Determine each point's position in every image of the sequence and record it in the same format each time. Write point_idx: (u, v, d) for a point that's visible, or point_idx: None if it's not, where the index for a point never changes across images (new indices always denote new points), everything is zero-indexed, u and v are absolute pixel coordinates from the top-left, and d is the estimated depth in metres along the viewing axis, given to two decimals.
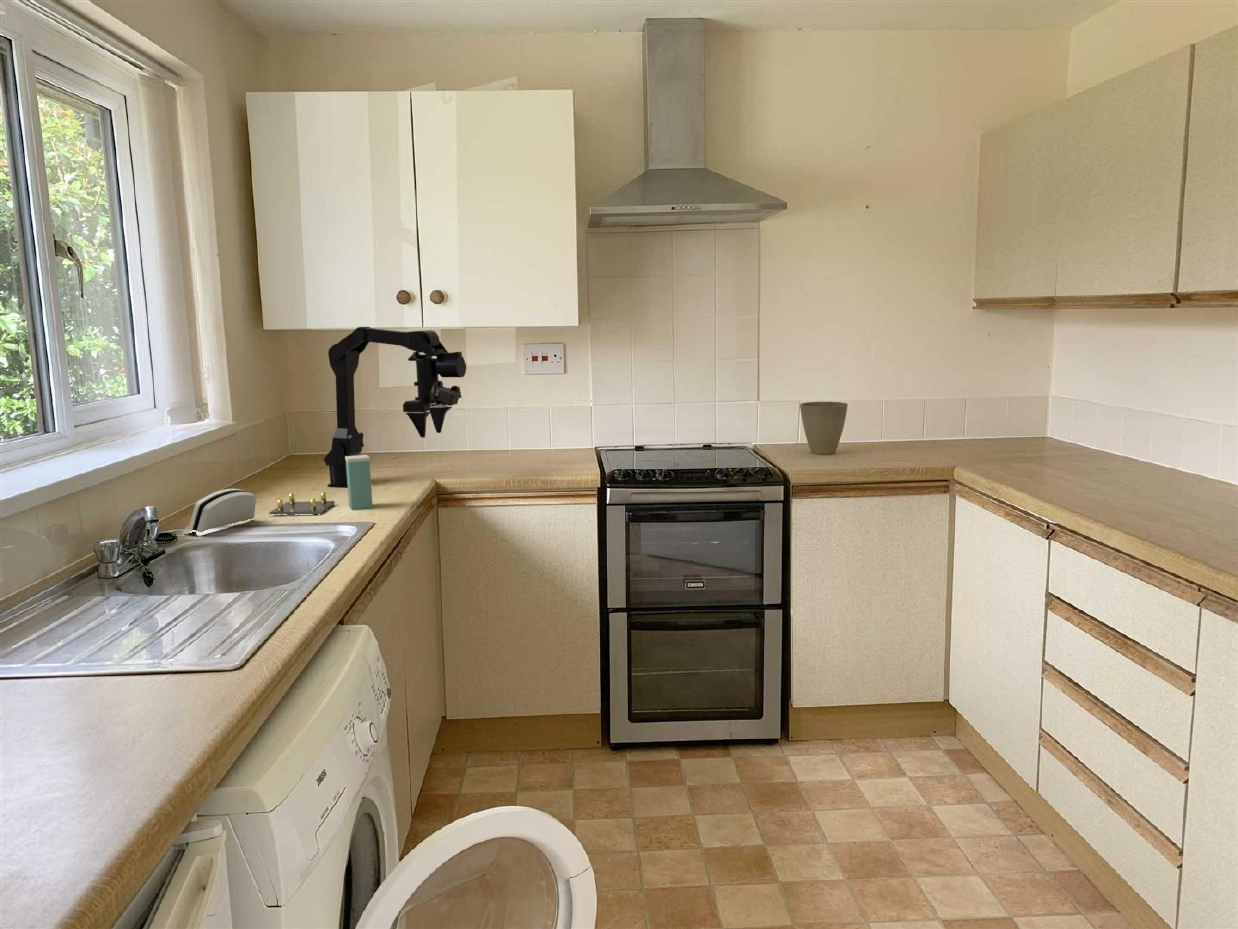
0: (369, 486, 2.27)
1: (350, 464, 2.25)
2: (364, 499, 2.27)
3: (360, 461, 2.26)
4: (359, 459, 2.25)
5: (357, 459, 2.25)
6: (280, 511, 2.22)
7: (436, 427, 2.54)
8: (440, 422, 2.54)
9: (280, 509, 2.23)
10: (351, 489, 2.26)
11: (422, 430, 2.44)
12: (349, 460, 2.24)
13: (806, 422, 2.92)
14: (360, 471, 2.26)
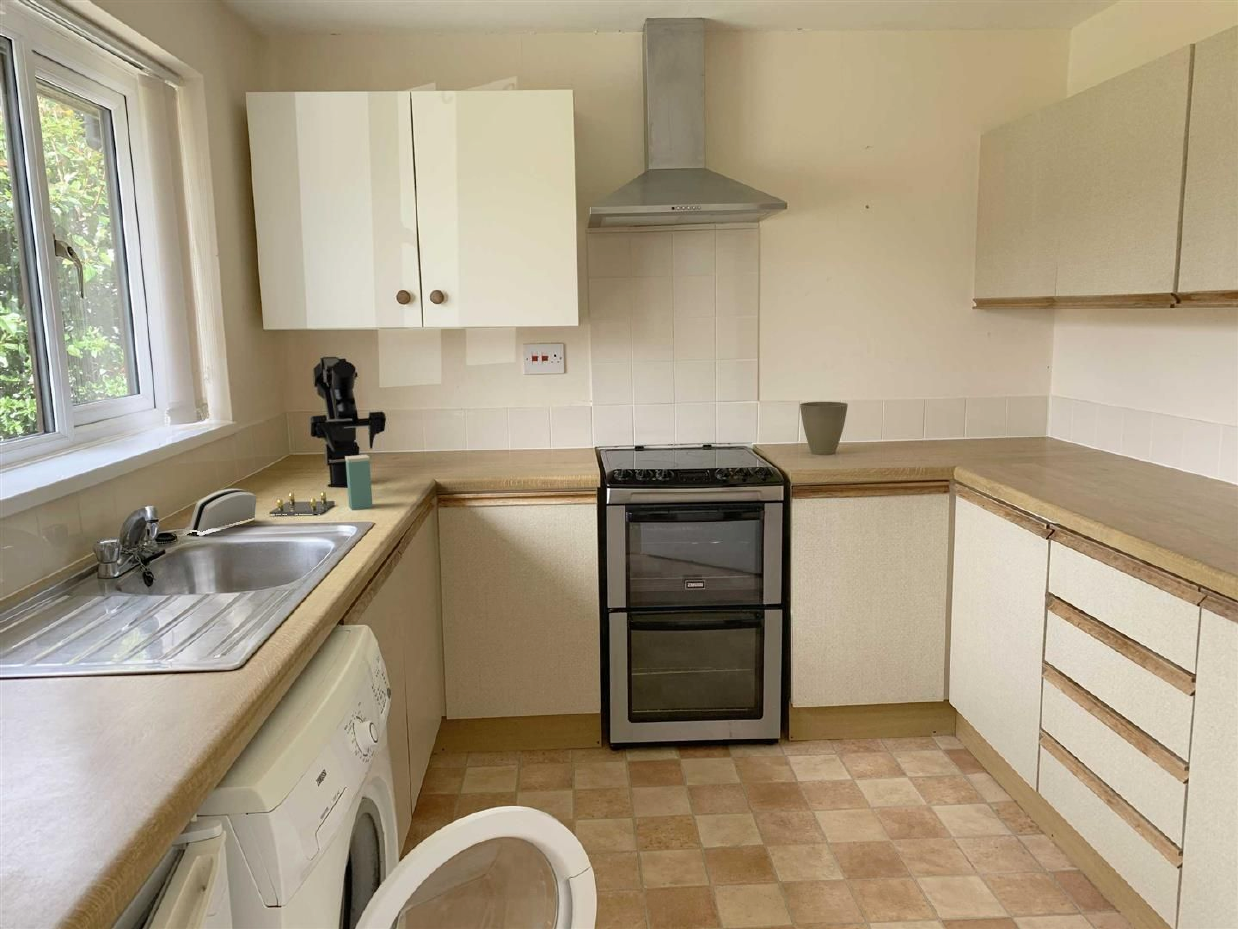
0: (369, 486, 2.27)
1: (350, 464, 2.25)
2: (364, 499, 2.27)
3: (360, 461, 2.26)
4: (359, 459, 2.25)
5: (357, 459, 2.25)
6: (280, 511, 2.22)
7: None
8: None
9: (280, 509, 2.23)
10: (351, 489, 2.26)
11: None
12: (349, 460, 2.24)
13: (806, 422, 2.92)
14: (361, 471, 2.26)
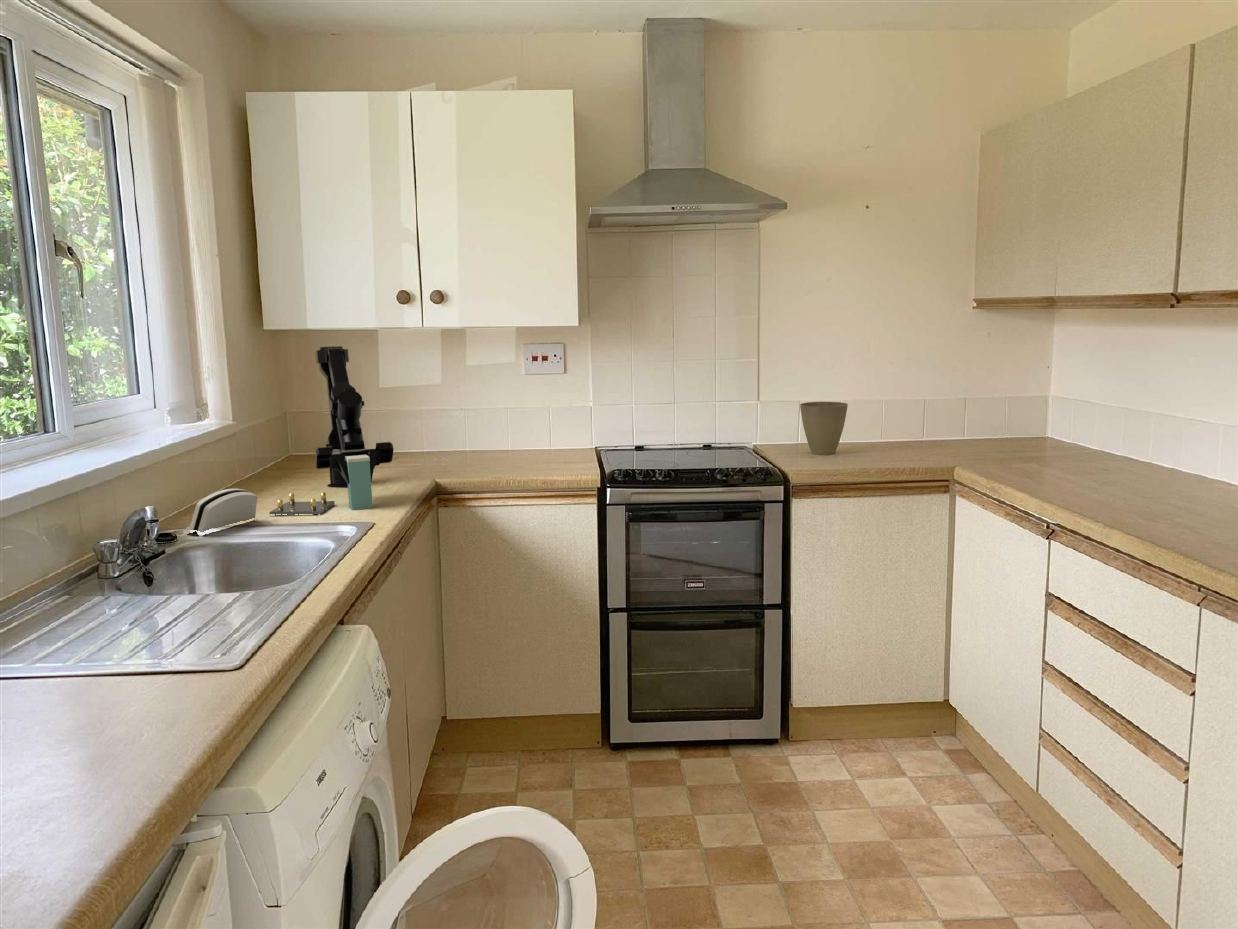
0: (369, 486, 2.27)
1: (350, 464, 2.25)
2: (364, 499, 2.27)
3: (360, 461, 2.26)
4: (359, 459, 2.25)
5: (357, 459, 2.25)
6: (280, 511, 2.22)
7: (348, 476, 2.27)
8: None
9: (280, 509, 2.23)
10: (351, 489, 2.26)
11: None
12: (349, 460, 2.24)
13: (806, 422, 2.92)
14: (360, 471, 2.26)
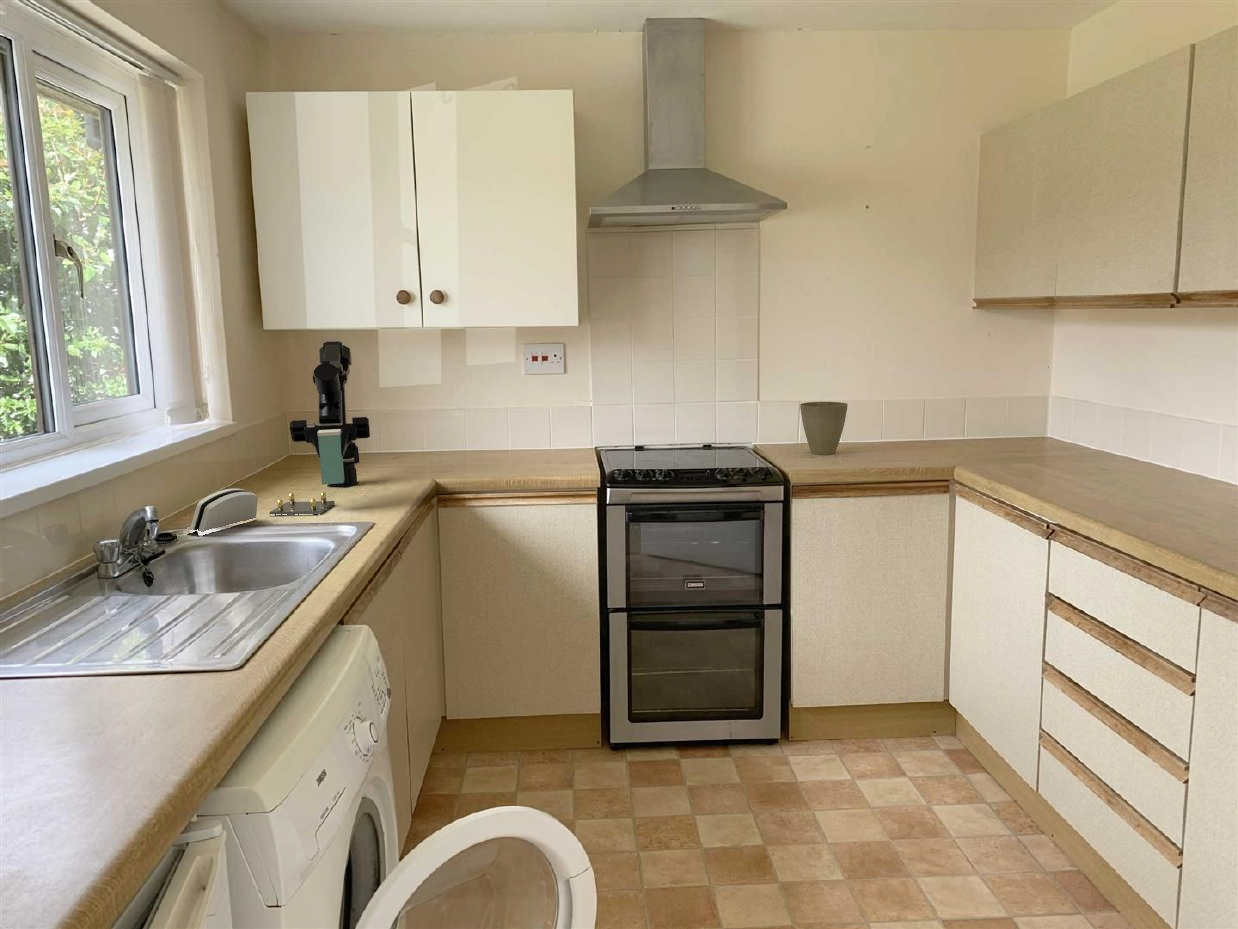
0: (339, 461, 2.24)
1: (320, 438, 2.22)
2: (334, 474, 2.24)
3: (330, 435, 2.23)
4: (329, 433, 2.22)
5: (327, 433, 2.22)
6: (280, 511, 2.22)
7: None
8: None
9: (280, 509, 2.23)
10: (321, 463, 2.23)
11: (345, 449, 2.27)
12: (318, 434, 2.22)
13: (806, 422, 2.92)
14: (330, 445, 2.23)
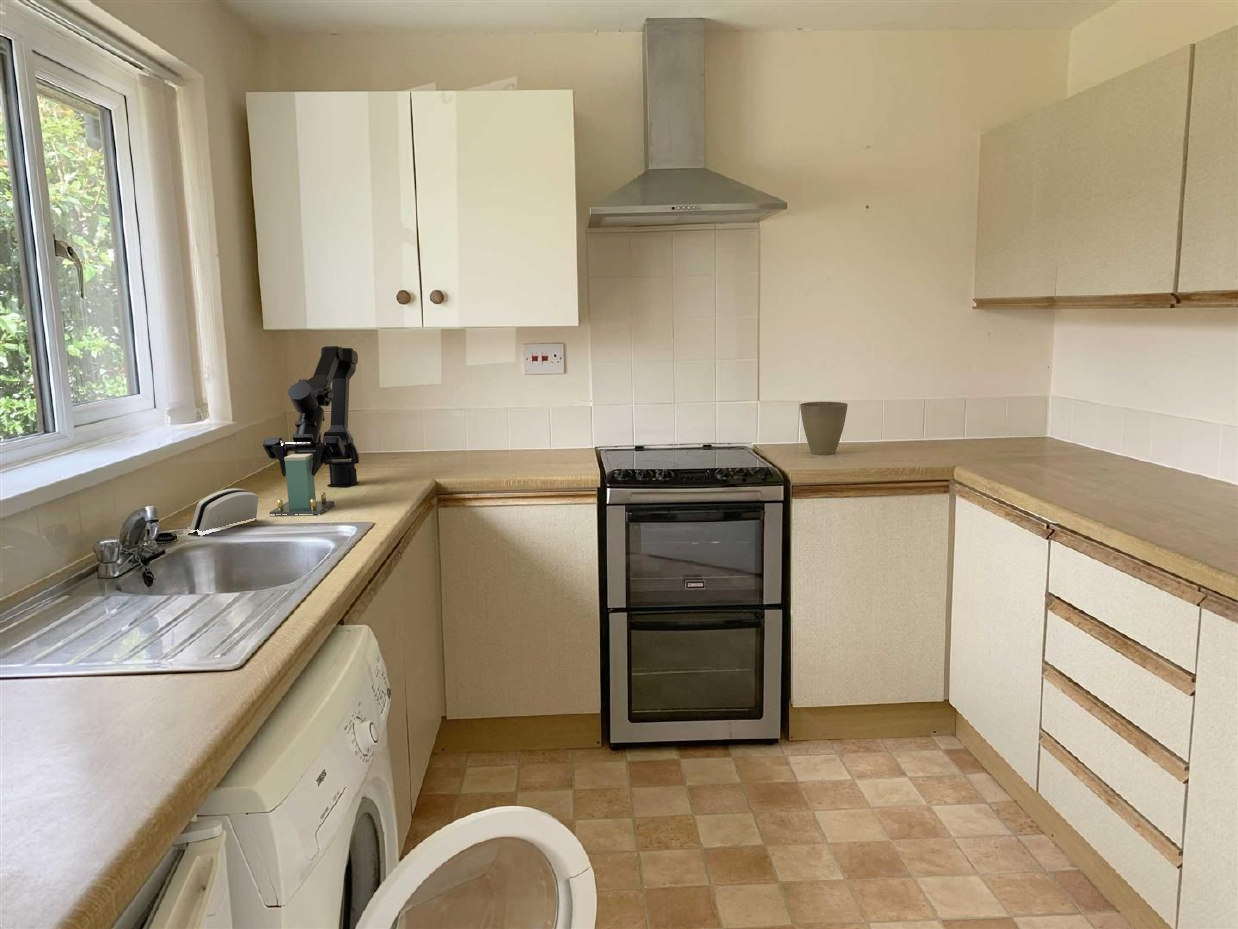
0: (305, 486, 2.24)
1: (286, 462, 2.23)
2: (301, 499, 2.24)
3: (296, 460, 2.23)
4: (295, 458, 2.23)
5: (293, 458, 2.23)
6: (280, 511, 2.22)
7: (284, 469, 2.25)
8: None
9: (280, 509, 2.23)
10: (288, 488, 2.24)
11: (317, 469, 2.26)
12: (285, 458, 2.23)
13: (806, 422, 2.92)
14: (297, 470, 2.23)
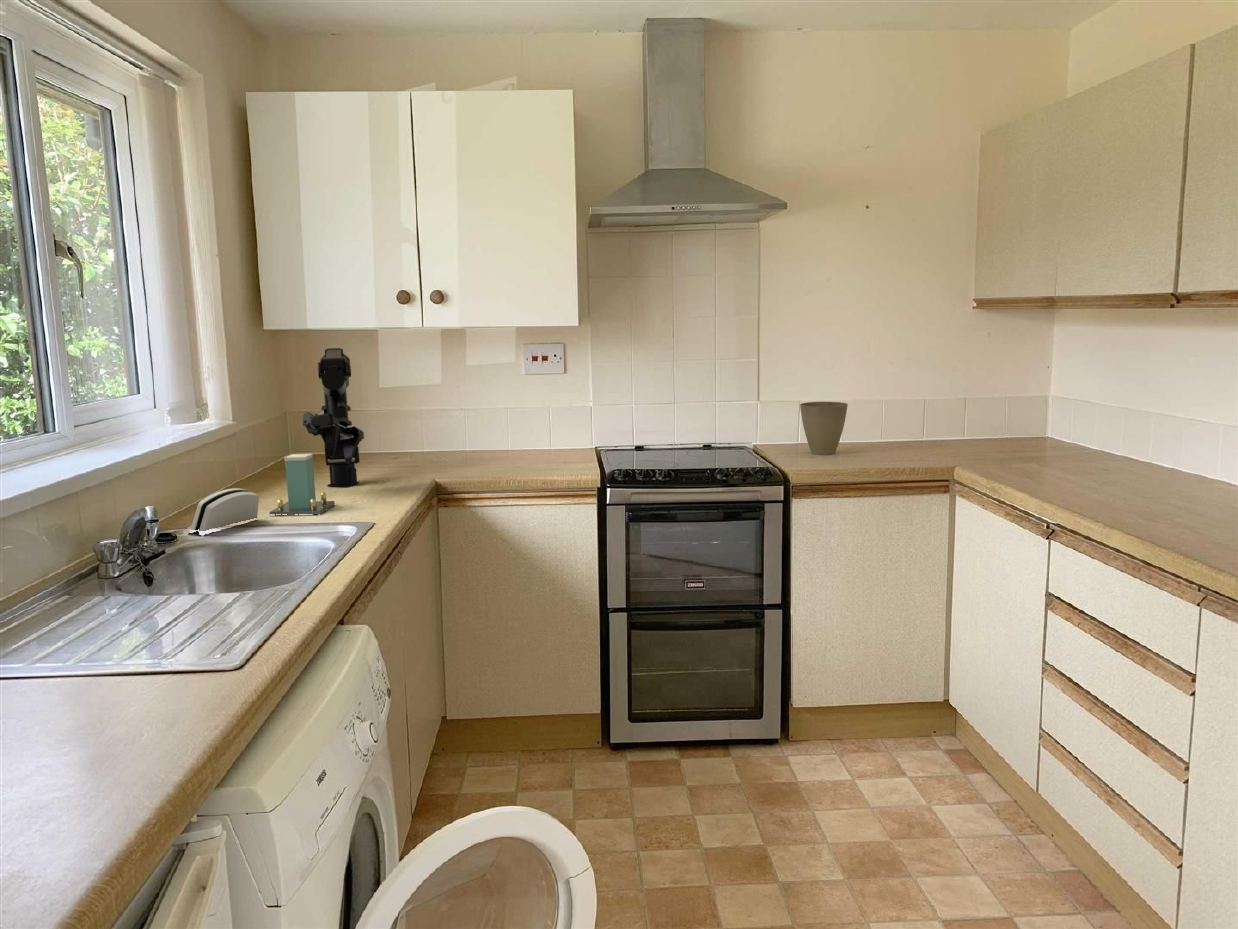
0: (305, 486, 2.24)
1: (286, 462, 2.23)
2: (301, 499, 2.24)
3: (296, 460, 2.23)
4: (295, 458, 2.23)
5: (293, 458, 2.23)
6: (280, 511, 2.22)
7: None
8: None
9: (280, 509, 2.23)
10: (288, 488, 2.24)
11: None
12: (285, 458, 2.23)
13: (806, 422, 2.92)
14: (297, 470, 2.23)
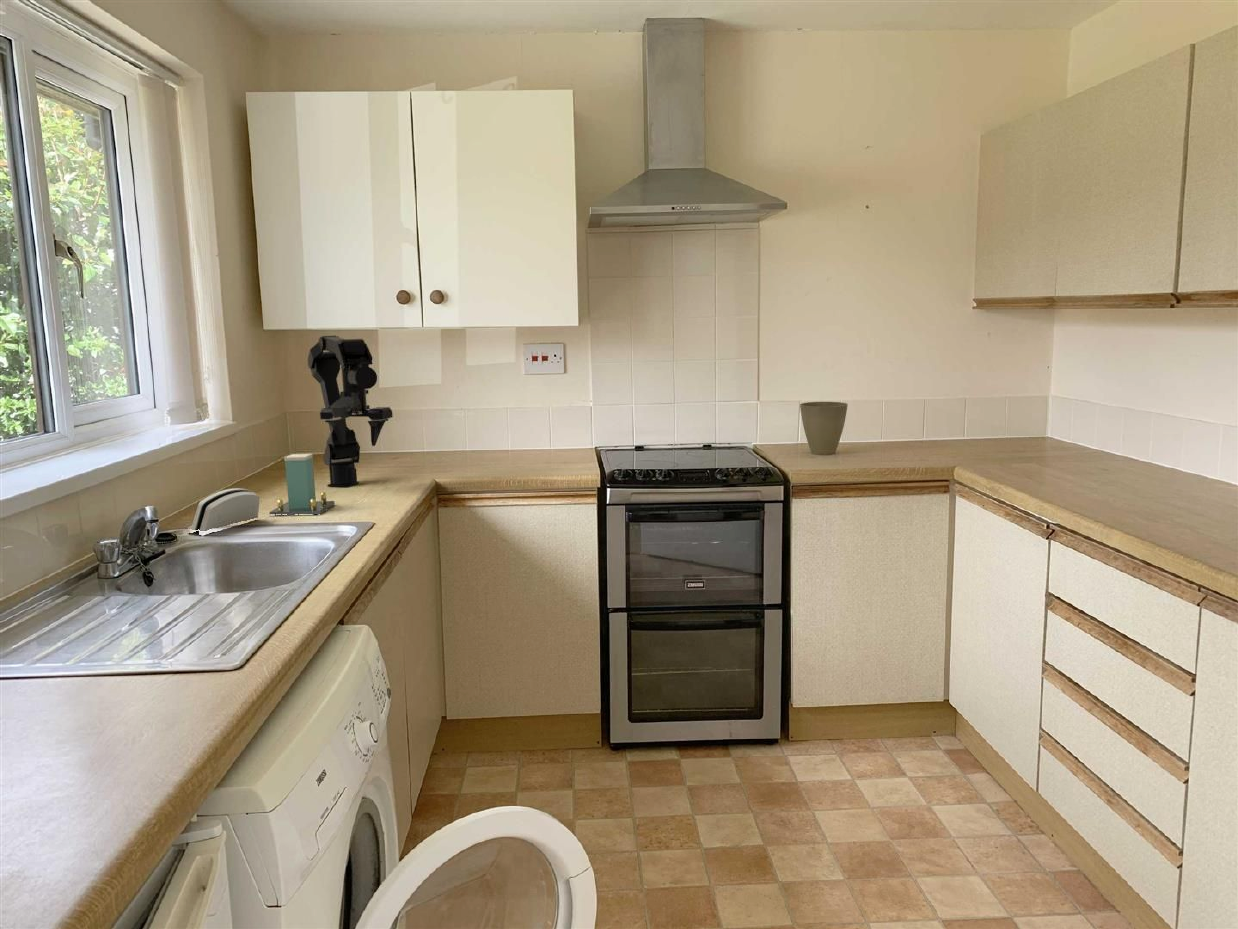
0: (305, 486, 2.24)
1: (286, 462, 2.23)
2: (301, 499, 2.24)
3: (296, 460, 2.23)
4: (295, 458, 2.23)
5: (293, 458, 2.23)
6: (280, 511, 2.22)
7: None
8: None
9: (280, 509, 2.23)
10: (288, 488, 2.24)
11: None
12: (285, 458, 2.23)
13: (806, 422, 2.92)
14: (297, 470, 2.23)
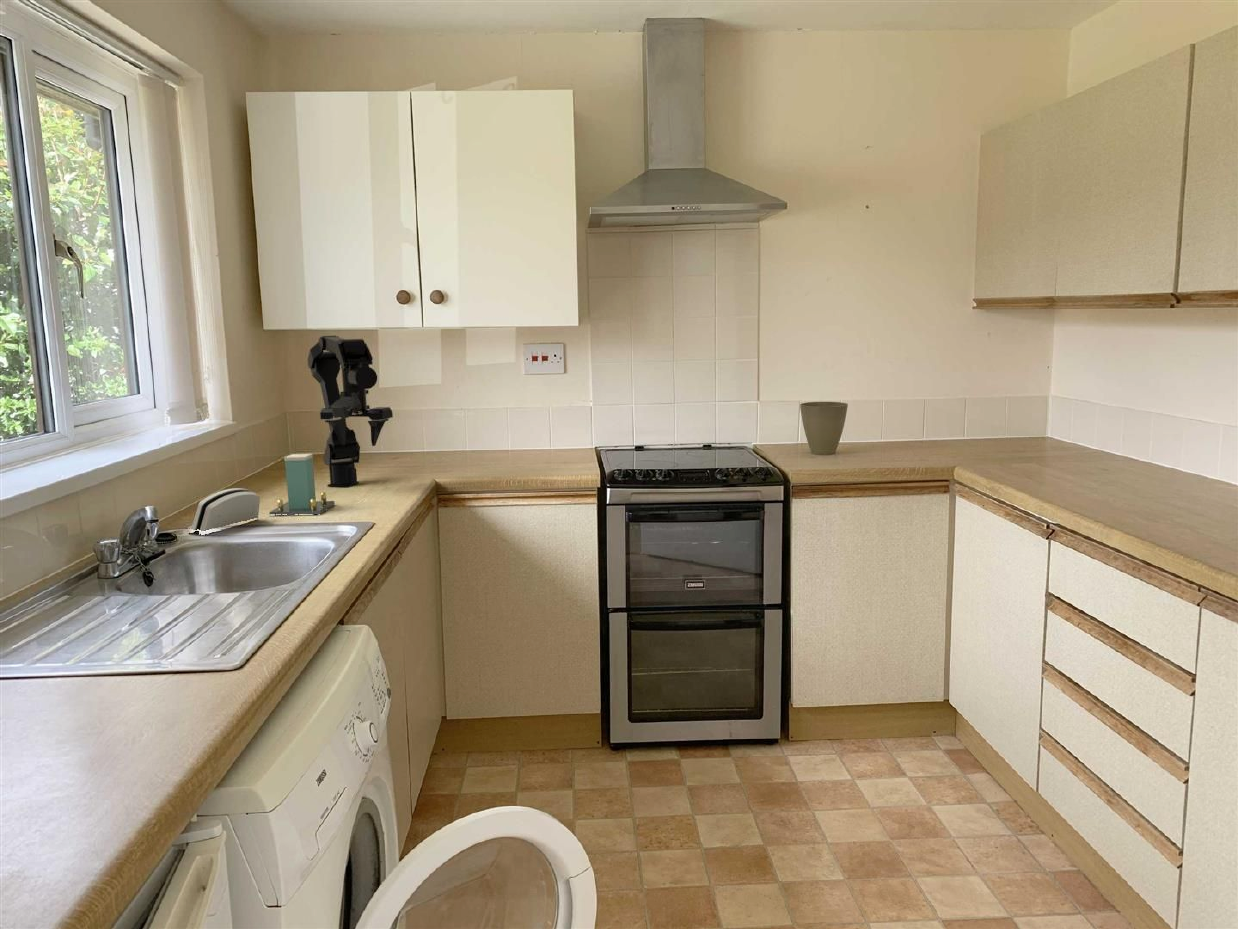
0: (305, 486, 2.24)
1: (286, 462, 2.23)
2: (301, 499, 2.24)
3: (296, 460, 2.23)
4: (295, 458, 2.23)
5: (293, 458, 2.23)
6: (280, 511, 2.22)
7: None
8: None
9: (280, 509, 2.23)
10: (288, 488, 2.24)
11: None
12: (285, 458, 2.23)
13: (806, 422, 2.92)
14: (297, 470, 2.23)
